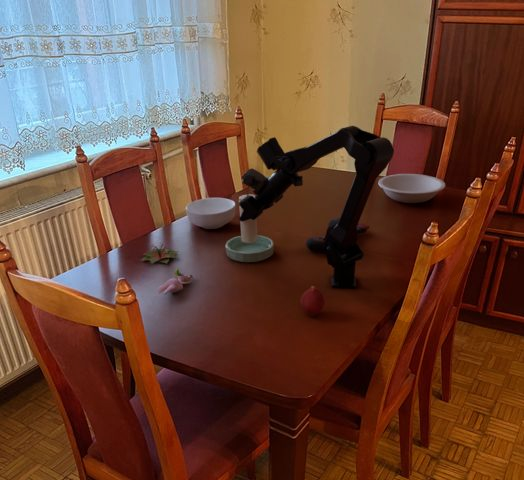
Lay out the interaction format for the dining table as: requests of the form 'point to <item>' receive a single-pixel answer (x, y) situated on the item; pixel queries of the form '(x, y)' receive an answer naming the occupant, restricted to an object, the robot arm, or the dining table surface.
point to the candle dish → (249, 249)
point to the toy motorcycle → (318, 242)
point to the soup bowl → (411, 187)
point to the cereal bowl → (211, 212)
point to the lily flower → (159, 255)
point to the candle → (248, 226)
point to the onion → (312, 301)
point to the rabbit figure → (175, 283)
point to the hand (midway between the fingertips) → (244, 217)
